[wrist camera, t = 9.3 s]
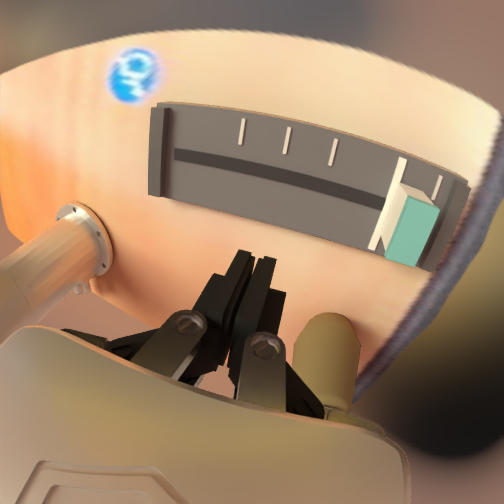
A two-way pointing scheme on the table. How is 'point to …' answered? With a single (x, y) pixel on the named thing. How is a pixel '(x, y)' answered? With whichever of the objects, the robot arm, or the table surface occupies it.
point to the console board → (294, 175)
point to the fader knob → (408, 225)
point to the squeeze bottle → (328, 359)
